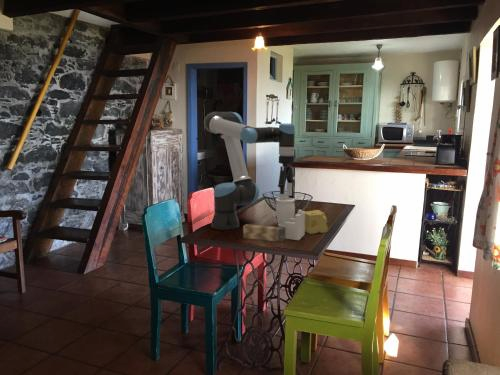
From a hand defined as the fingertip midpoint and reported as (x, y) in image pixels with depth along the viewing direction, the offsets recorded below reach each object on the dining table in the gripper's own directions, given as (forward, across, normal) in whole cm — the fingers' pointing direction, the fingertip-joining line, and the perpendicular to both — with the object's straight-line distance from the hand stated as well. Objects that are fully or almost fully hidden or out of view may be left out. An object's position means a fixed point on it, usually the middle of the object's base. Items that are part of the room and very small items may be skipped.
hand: (285, 197), depth 209 cm
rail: (+19, -10, +8) cm, 23 cm away
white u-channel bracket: (+19, -2, -6) cm, 20 cm away
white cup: (+19, +17, +4) cm, 26 cm away
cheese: (+19, +11, -12) cm, 25 cm away
